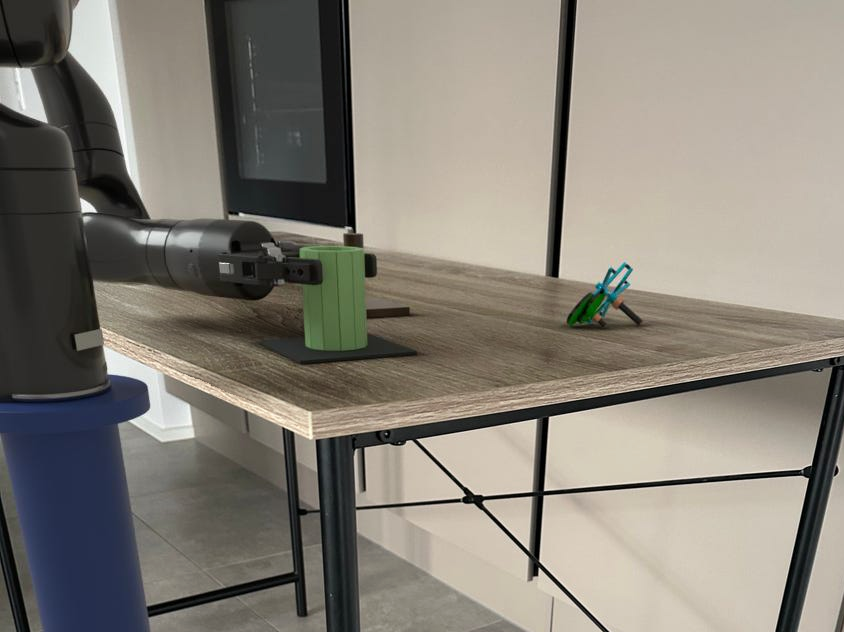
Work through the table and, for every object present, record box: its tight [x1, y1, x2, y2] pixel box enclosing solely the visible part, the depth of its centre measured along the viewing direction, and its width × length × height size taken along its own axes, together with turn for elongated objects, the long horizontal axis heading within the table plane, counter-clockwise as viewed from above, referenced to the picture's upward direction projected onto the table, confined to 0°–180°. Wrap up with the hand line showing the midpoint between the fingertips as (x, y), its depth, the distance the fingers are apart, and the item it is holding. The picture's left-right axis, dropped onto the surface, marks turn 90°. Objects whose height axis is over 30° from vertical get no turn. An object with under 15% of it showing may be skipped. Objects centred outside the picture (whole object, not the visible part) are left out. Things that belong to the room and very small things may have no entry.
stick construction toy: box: [565, 261, 643, 328], centre depth 110 cm, size 12×7×8 cm
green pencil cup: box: [299, 245, 368, 351], centre depth 92 cm, size 6×6×9 cm
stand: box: [342, 232, 411, 319], centre depth 115 cm, size 10×10×9 cm
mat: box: [258, 332, 418, 365], centre depth 94 cm, size 12×12×1 cm
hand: (348, 269), depth 90 cm, fingers open, 8 cm apart
